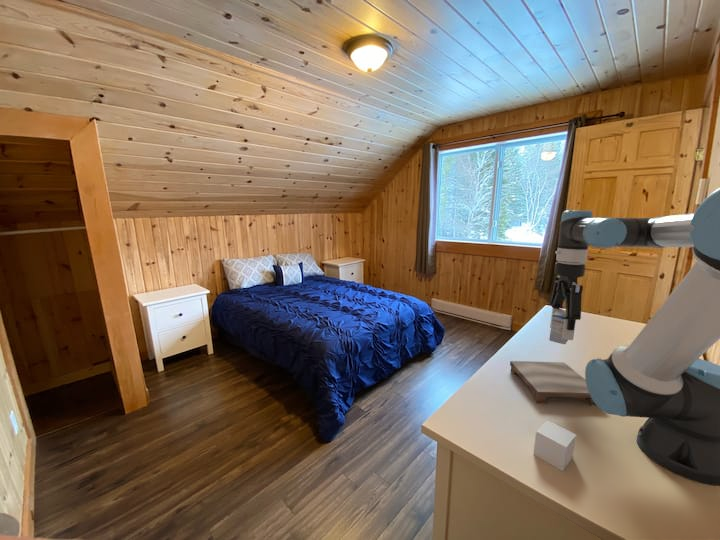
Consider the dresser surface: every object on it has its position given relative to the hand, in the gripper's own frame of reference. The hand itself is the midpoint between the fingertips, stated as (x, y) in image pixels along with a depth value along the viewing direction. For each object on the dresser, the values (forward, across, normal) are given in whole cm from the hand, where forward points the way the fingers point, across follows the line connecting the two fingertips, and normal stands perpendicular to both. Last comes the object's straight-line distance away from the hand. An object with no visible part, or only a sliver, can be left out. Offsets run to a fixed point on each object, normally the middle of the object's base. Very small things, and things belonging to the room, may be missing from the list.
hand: (560, 333), depth 96 cm
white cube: (+18, +33, -12) cm, 39 cm away
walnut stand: (+17, +3, -2) cm, 17 cm away
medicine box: (+2, 0, 0) cm, 2 cm away
